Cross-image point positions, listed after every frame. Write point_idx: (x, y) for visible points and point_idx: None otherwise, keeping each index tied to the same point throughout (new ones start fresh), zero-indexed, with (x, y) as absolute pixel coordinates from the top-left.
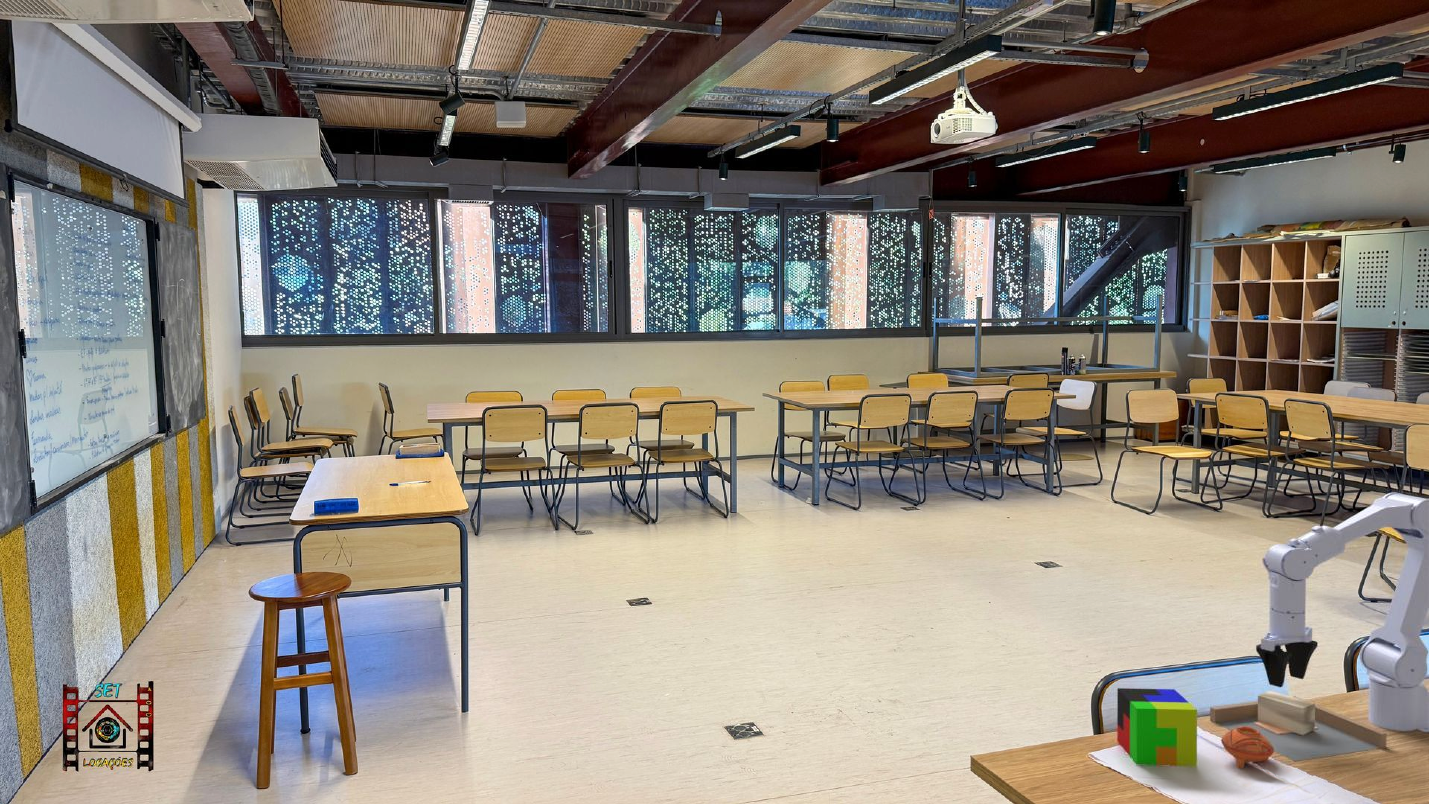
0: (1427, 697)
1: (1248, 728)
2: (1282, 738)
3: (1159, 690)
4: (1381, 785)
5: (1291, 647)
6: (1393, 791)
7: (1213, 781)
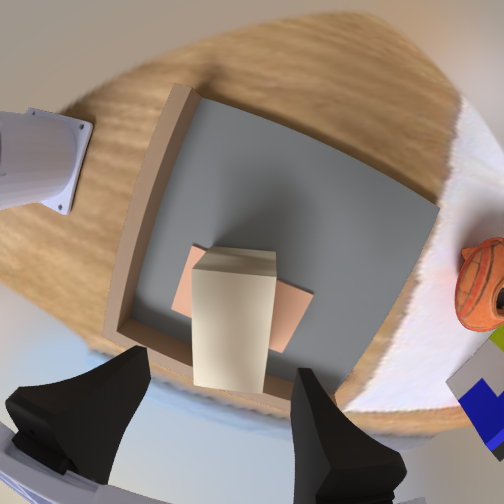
0: None
1: (495, 305)
2: (329, 277)
3: (496, 445)
4: (397, 56)
5: (103, 457)
6: (404, 39)
7: None
